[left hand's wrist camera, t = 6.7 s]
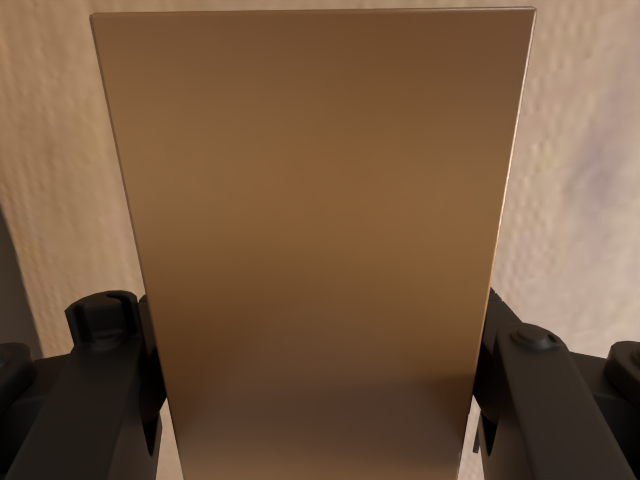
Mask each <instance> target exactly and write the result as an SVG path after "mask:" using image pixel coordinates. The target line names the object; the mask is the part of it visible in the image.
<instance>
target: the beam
mask: <svg viewBox="0 0 640 480" xmlns="http://www.w3.org/2000/svg"><path fill="white" fill-rule="evenodd" d="M536 16H537V9H536V8H534V7H463V8H394V9H326V10H257V11H188V12H119V13H93V14H91V15H90V18H89V20H90V24H91V29H92V34H93V39H94V44H95V49H96V54H97V59H98V63H99V68H100V73H101V78H102V83H103V88H104V93H105V98H106V102H107V107H108V112H109V117H110V122H111V127H112V132H113V137H114V141H115V146H116V151H117V156H118V161H119V166H120V171H121V176H122V180H123V185H124V190H125V195H126V200H127V205H128V210H129V215H130V219H131V224H132V229H133V234H134V239H135V244H136V249H137V254H138V258H139V263H140V268H141V273H142V278H143V283H144V288H145V293H146V297H147V302H148V307H149V312H150V317H151V322H152V327H153V332H154V336H155V341H156V346H157V351H158V356H159V361H160V366H161V371H162V375H163V380H164V385H165V390H166V395H167V400H168V405H169V410H170V415H171V419H172V424H173V429H174V434H175V439H176V444H177V449H178V454H179V458H180V463H181V468H182V473H183V478H184V480H457V479H458V473H459V467H460V461H461V455H462V449H463V444H464V438H465V432H466V426H467V420H468V414H469V408H470V403H471V397H472V391H473V385H474V379H475V373H476V367H477V362H478V356H479V350H480V344H481V338H482V332H483V326H484V321H485V315H486V309H487V303H488V297H489V291H490V286H491V280H492V274H493V268H494V262H495V256H496V250H497V245H498V239H499V233H500V227H501V221H502V215H503V209H504V204H505V198H506V192H507V186H508V180H509V174H510V168H511V163H512V157H513V151H514V145H515V139H516V133H517V128H518V122H519V116H520V110H521V104H522V98H523V92H524V87H525V81H526V75H527V69H528V63H529V57H530V51H531V46H532V40H533V34H534V28H535V22H536Z"/></svg>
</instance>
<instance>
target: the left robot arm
mask: <svg viewBox="0 0 640 480" xmlns="http://www.w3.org/2000/svg"><path fill="white" fill-rule="evenodd" d="M65 314H66V318H67V321H68V325H69V328H70V332H71V335H72V339H73V343H74V347H73V349H72V351H71V353H69V354H65V355H60V356H55V357H50V358H44V359H39V360H34V359H33V356H32V353H31V350H30V348H29V347H28V346H27V345H25V344H23V343H14V342H12V343H4V344H0V480H156V472H157V465H158V457H159V449H160V442H161V434H162V422H161V416H160V409H161V407H162V405H163V403H164V401H165V400H166V398H167V395H166V390H165V385H164V380H163V375H162V371H161V366H160V361H159V356H158V351H157V346H156V341H155V336H154V332H153V327H152V322H151V317H150V312H149V307H148V302H147V297H146V295H143V297H142V298H141V299H140V300H139V303H138V301H137V296H136V295H134V294H133V293H132V292H128V291H123V290H115V291H105V292H100V293H95V294H92V295H90V296H87V297H84V298H82V299H80V300H78V301H76V302H74V303H72V304H71V305H70V306H69V307H68V308H67V309H66V310H65ZM473 395H474V397H475V399H476V401H477V403H478V405H479V407H480V409H481V411H480V416H479V421H478V426H477V431H476V436H475V441H474V447H473V452H474V453H478V450H479V446H480V448H481V456H482V464H483V471H484V479H485V480H640V342H634V341H621V342H616V343H615V344H613V345H612V346H611V348H610V351H609V354H608V357H607V359H605V358H600V357H595V356H589V355H584V354H579V353H574V352H570V351H569V350H568V348H567V346H566V345H565V343H564V342H563V341H562V340H561V339H560V338H559V337H558V336H556V335H555V334H553V333H552V332H550V331H549V330H546V329H544V328H541V327H539V326H536V325H532V324H528V323H522V321H521V320H520V319H519V318H518V317H517V316H516V315H515V314H514V312H513V311H512V310H511V309H510V308H509V307H508V306H507V305H506V303H505V302H504V301H502V299H501V298H500V297H499V296H498V294H497V293H495V291H494V290H493V289H492V288H491V287H490V291H489V297H488V303H487V309H486V315H485V321H484V326H483V332H482V338H481V344H480V350H479V356H478V362H477V367H476V373H475V379H474V385H473V391H472V397H473ZM472 397H471V402H472ZM470 407H471V403H470ZM469 413H470V408H469Z"/></svg>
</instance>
